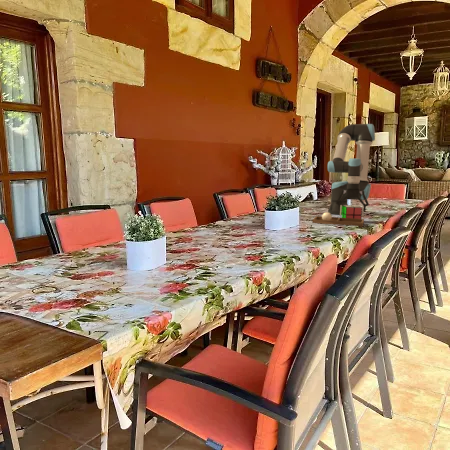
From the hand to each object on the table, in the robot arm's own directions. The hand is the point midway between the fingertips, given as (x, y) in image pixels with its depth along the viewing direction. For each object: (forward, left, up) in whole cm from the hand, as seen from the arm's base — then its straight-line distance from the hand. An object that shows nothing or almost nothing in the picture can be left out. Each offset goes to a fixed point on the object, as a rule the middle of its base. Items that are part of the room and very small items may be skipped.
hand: (351, 215), depth 274 cm
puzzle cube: (0, 0, -4) cm, 4 cm away
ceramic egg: (+14, -14, -3) cm, 20 cm away
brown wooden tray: (+14, -6, -4) cm, 16 cm away
